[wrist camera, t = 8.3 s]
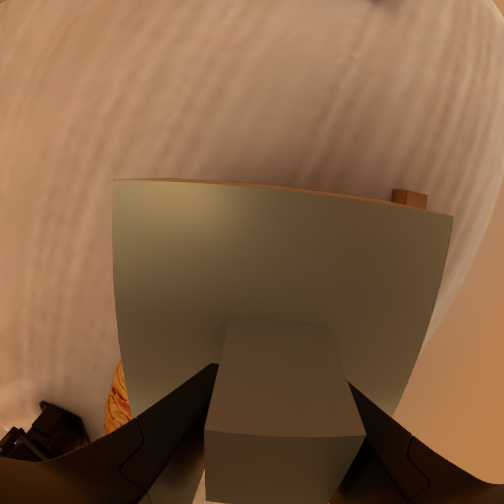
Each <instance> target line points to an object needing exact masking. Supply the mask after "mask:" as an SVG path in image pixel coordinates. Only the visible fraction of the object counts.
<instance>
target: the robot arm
mask: <svg viewBox="0 0 504 504" xmlns="http://www.w3.org/2000/svg"><path fill="white" fill-rule="evenodd" d="M218 368H219V364H217V363H210V364H208V365H207V366H206V367H204V368H203V369H202V370H200V371H199V372H198V373H196V374H195V375H194V376H192V377H191V378H190V379H188V380H187V381H185V382H184V383H183V384H181V385H180V386H179V387H177V388H176V389H174V390H173V391H172V392H170V393H169V394H168V395H166V396H165V397H163V398H162V399H160V400H159V401H158V402H156V403H155V404H153V405H152V406H150V407H149V408H148V409H146V410H145V411H143V412H142V413H140V414H139V415H137V416H136V418H133V419H131V420H130V421H128V422H127V423H125V424H124V425H122V426H121V427H119V428H117V429H116V430H114V431H112V432H111V433H109V434H107V435H105V436H103V437H101V438H99V439H97V440H95V441H93V442H91V443H90V442H89V439H88V437H87V434H86V432H85V429H84V427H83V424H82V421H81V419H80V418H79V417H77V416H75V415H72V414H70V413H67V412H65V411H63V410H60V409H58V408H56V407H53V406H51V405H49V404H47V403H45V402H42V401H41V402H40V403H39V405H40V407H41V410H42V413H41V414H40V416H39V417H38V418H37V419H36V420H35V421H34V423H33V424H32V427H31V428H30V430H29V431H28V432H27V433H25V432H24V430H23V429H22V428H20V429H18V428H16V427H14V426H13V427H12V429H11V430H10V431H9V432H8V433H7V434H6V435H5V437H3V439H2V440H1V441H0V504H192V503H193V500H194V497H195V494H196V491H197V488H198V486H199V483H200V480H201V477H202V474H203V471H204V468H205V455H204V428H205V423H206V419H207V415H208V410H209V406H210V402H211V398H212V393H213V389H214V385H215V381H216V376H217V372H218ZM347 382H348V385H349V387H350V390H351V393H352V395H353V398H354V401H355V404H356V406H357V409H358V412H359V415H360V418H361V421H362V423H363V426H364V429H365V432H366V437H365V439H364V441H363V443H362V445H361V447H360V449H359V451H358V453H357V455H356V456H355V458H354V460H353V462H352V464H351V466H350V468H349V469H348V471H347V473H346V475H345V476H344V478H343V480H342V482H341V483H340V485H339V487H338V488H337V490H336V492H335V493H334V495H333V496H332V498H331V500H330V501H329V504H504V484H491V483H487V482H484V481H482V480H480V479H478V478H476V477H474V476H473V475H471V474H469V473H468V472H466V471H464V470H463V469H461V468H459V467H458V466H456V465H454V464H453V463H451V462H449V461H448V460H446V459H445V458H443V457H442V456H440V455H439V454H437V453H436V452H434V451H433V450H432V449H430V448H429V447H428V446H426V445H425V444H424V443H422V442H421V441H420V440H418V439H417V438H416V437H415V436H412V434H411V433H410V432H408V431H407V430H406V429H405V428H403V427H402V426H401V425H400V424H399V423H397V422H396V421H395V420H394V419H392V418H391V417H390V416H389V415H388V414H386V413H385V412H384V411H383V410H382V409H380V408H379V407H378V406H377V405H376V404H375V403H373V402H372V401H371V400H370V399H369V398H367V397H366V396H365V395H364V394H363V393H361V392H360V391H359V390H358V389H357V388H356V387H354V386H353V385H352V384H351V383H350V382H349V381H347ZM14 442H15V443H16V444H14Z"/></svg>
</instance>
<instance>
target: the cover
mask: <svg viewBox="0 0 504 504" xmlns="http://www.w3.org/2000/svg"><path fill="white" fill-rule="evenodd" d="M452 223H453V216H449V215H445V214H441V213H437V212H433V211H429V210H425V209H421V208H417V207H412V206H408V205H403V204H399V203H394V202H389V201H385V200H379V199H372V198H366V197H360V196H353V195H346V194H339V193H332V192H324V191H316V190H308V189H300V188H291V187H282V186H272V185H262V184H251V183H239V182H227V181H213V180H197V179H179V178H152V179H119V180H114V183H113V211H112V248H113V276H114V293H115V306H116V317H117V327H118V336H119V344H120V352H121V359H122V366H123V372H124V378H125V384H126V390H127V395H128V401H129V406H130V410H131V415H132V419H133V418H136V416H137V415H139V414H140V413H142V412H143V411H145V410H146V409H148V408H149V407H150V406H152V405H153V404H155V403H156V402H158V401H159V400H160V399H162V398H163V397H165V396H166V395H168V394H169V393H170V392H172V391H173V390H174V389H176V388H177V387H179V386H180V385H181V384H183V383H184V382H185V381H187V380H188V379H190V378H191V377H192V376H194V375H195V374H196V373H198V372H199V371H200V370H202V369H203V368H204V367H206V366H207V365H208V364H210V363H217V364H219V368H218V372H217V376H216V381H215V385H214V389H213V393H212V398H211V402H210V406H209V410H208V415H207V419H206V423H205V428H204V455H205V489H206V501H211V502H219V503H227V504H328V503H329V501H330V500H331V498H332V496H333V495H334V493H335V492H336V490H337V488H338V487H339V485H340V483H341V482H342V480H343V478H344V476H345V475H346V473H347V471H348V469H349V468H350V466H351V464H352V462H353V460H354V458H355V456H356V455H357V453H358V451H359V449H360V447H361V445H362V443H363V441H364V439H365V437H366V432H365V429H364V426H363V423H362V421H361V418H360V415H359V412H358V409H357V406H356V404H355V401H354V398H353V395H352V393H351V390H350V387H349V385H348V382H347V381H349V382H350V383H351V384H352V385H353V386H354V387H356V388H357V389H358V390H359V391H360V392H361V393H363V394H364V395H365V396H366V397H367V398H369V399H370V400H371V401H372V402H373V403H375V404H376V405H377V406H378V407H379V408H380V409H382V410H383V411H384V412H385V413H386V414H388V415H389V416H390V417H391V418H392V416H393V414H394V412H395V410H396V408H397V406H398V403H399V401H400V399H401V397H402V394H403V392H404V390H405V387H406V385H407V383H408V380H409V378H410V376H411V373H412V370H413V368H414V365H415V363H416V360H417V357H418V355H419V352H420V349H421V346H422V344H423V341H424V338H425V335H426V332H427V329H428V325H429V322H430V319H431V316H432V312H433V309H434V305H435V302H436V298H437V294H438V291H439V287H440V283H441V279H442V275H443V270H444V266H445V261H446V256H447V251H448V246H449V241H450V235H451V230H452Z"/></svg>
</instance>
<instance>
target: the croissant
mask: <svg viewBox="0 0 504 504" xmlns="http://www.w3.org/2000/svg"><path fill="white" fill-rule="evenodd" d="M112 387H113V388H112V390H111V391H110V393H109V395H108V399H107V403H106V407H105V425H104V428H105V429H104V430H105V432H106V434H109V433H111V432H112V431H114V430H116V429H117V428H119V427H121V426H122V425H124V424H125V423H127V422H128V421H130V420H131V419H132V415H131V410H130V406H129V401H128V395H127V390H126V384H125V378H124V372H123V366H122V360H121V361H120V362H119V364H118V366H117V368H116V371H115V373H114V376H113V383H112Z"/></svg>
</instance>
